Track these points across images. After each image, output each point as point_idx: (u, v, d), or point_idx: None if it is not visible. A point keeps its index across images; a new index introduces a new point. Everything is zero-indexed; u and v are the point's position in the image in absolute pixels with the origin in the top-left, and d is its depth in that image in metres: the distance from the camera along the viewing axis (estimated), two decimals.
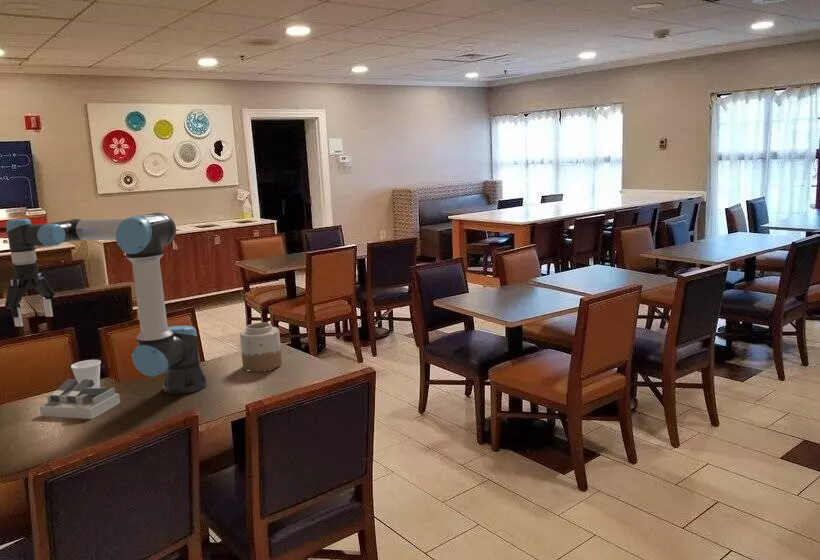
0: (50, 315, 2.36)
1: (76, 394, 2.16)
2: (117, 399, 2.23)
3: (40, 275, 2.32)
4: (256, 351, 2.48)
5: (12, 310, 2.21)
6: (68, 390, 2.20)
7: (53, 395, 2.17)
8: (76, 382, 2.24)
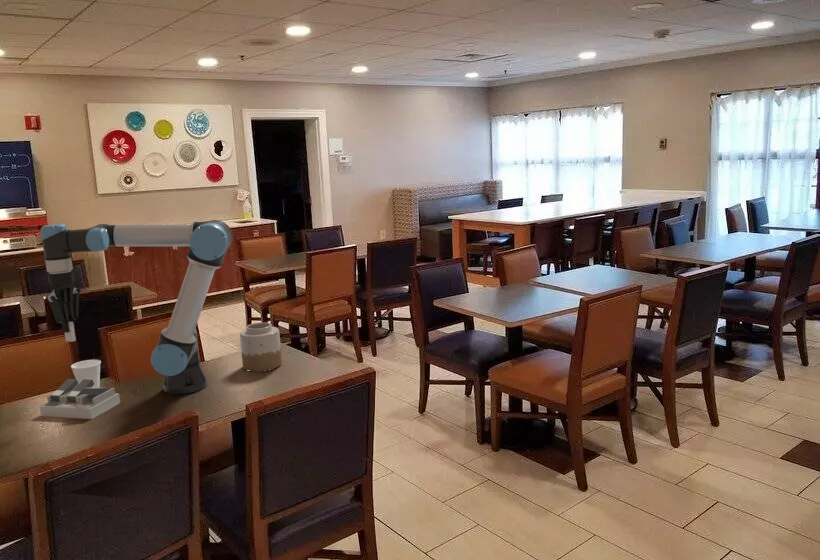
0: None
1: (76, 394, 2.16)
2: (117, 399, 2.23)
3: (75, 289, 2.17)
4: (256, 351, 2.48)
5: (63, 324, 2.12)
6: (68, 390, 2.20)
7: (53, 395, 2.17)
8: (76, 382, 2.24)
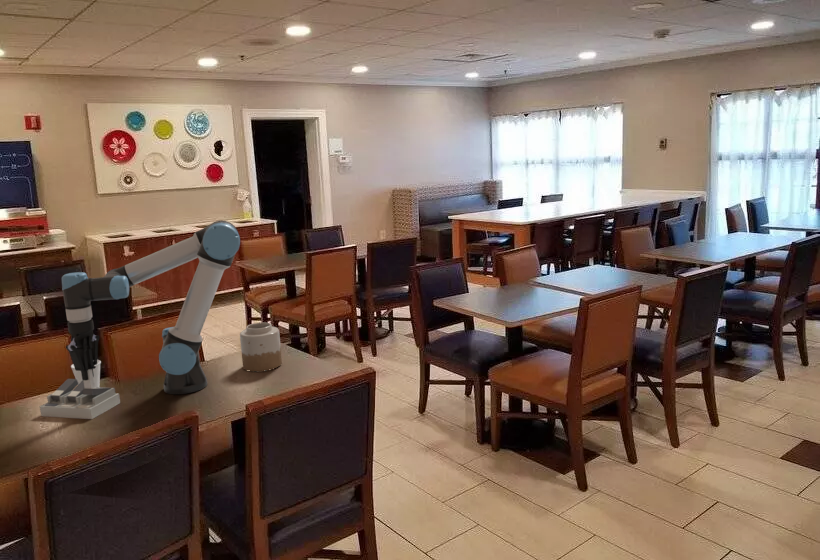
0: None
1: (76, 394, 2.16)
2: (117, 399, 2.23)
3: (94, 336, 2.16)
4: (256, 351, 2.48)
5: (82, 372, 2.12)
6: (68, 390, 2.20)
7: (53, 395, 2.17)
8: (76, 382, 2.24)
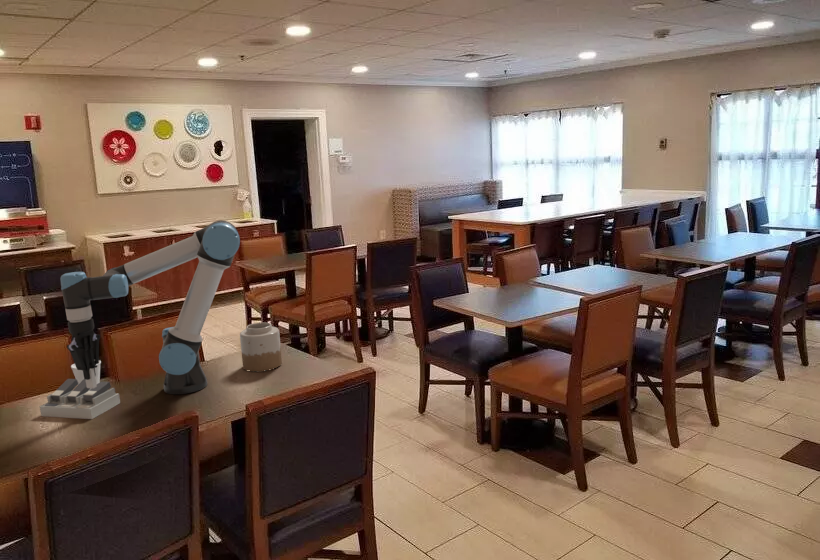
0: None
1: (76, 394, 2.16)
2: (117, 399, 2.23)
3: (95, 335, 2.16)
4: (256, 351, 2.48)
5: (84, 372, 2.12)
6: (68, 390, 2.20)
7: (53, 395, 2.17)
8: (76, 382, 2.24)
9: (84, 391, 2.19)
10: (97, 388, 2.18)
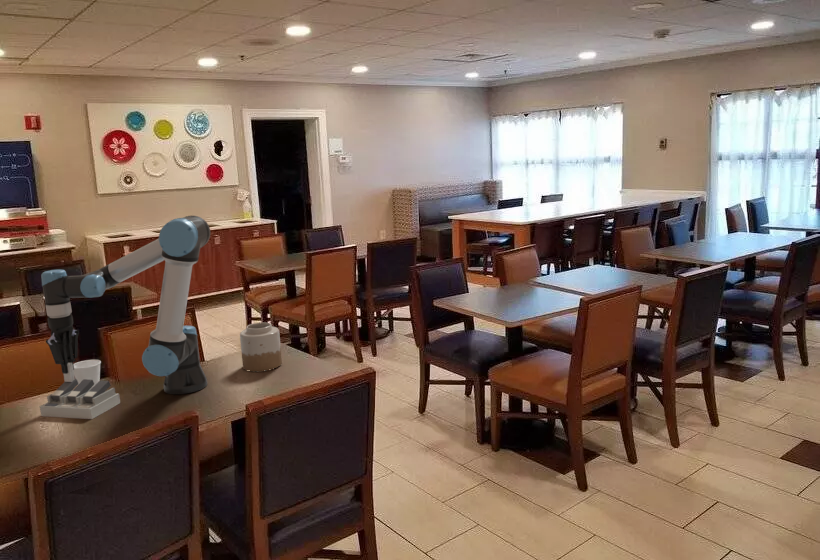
0: None
1: (76, 394, 2.16)
2: (117, 399, 2.23)
3: (74, 331, 2.25)
4: (256, 351, 2.48)
5: (62, 366, 2.20)
6: (68, 390, 2.20)
7: (53, 395, 2.17)
8: (76, 382, 2.24)
9: (84, 391, 2.19)
10: (97, 388, 2.18)
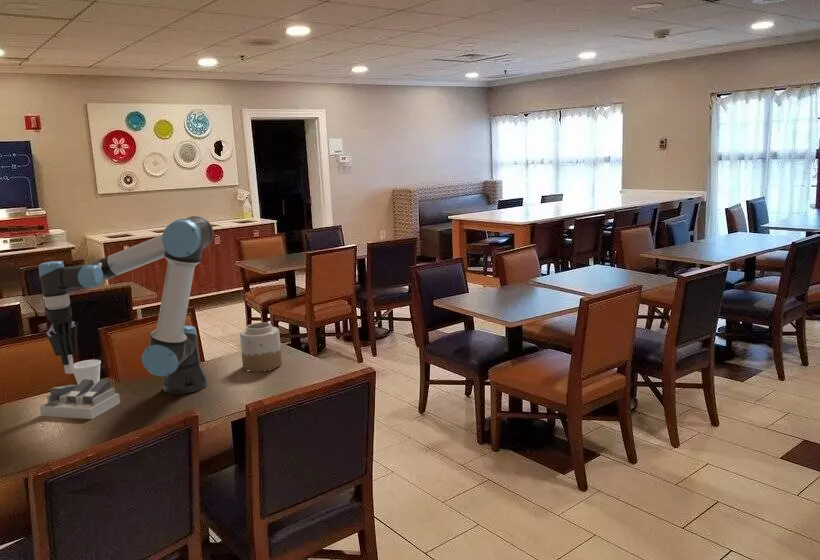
0: None
1: (76, 394, 2.16)
2: (117, 399, 2.23)
3: (73, 323, 2.24)
4: (256, 351, 2.48)
5: (62, 358, 2.20)
6: (68, 389, 2.20)
7: (53, 388, 2.17)
8: None
9: (84, 391, 2.19)
10: (97, 388, 2.18)
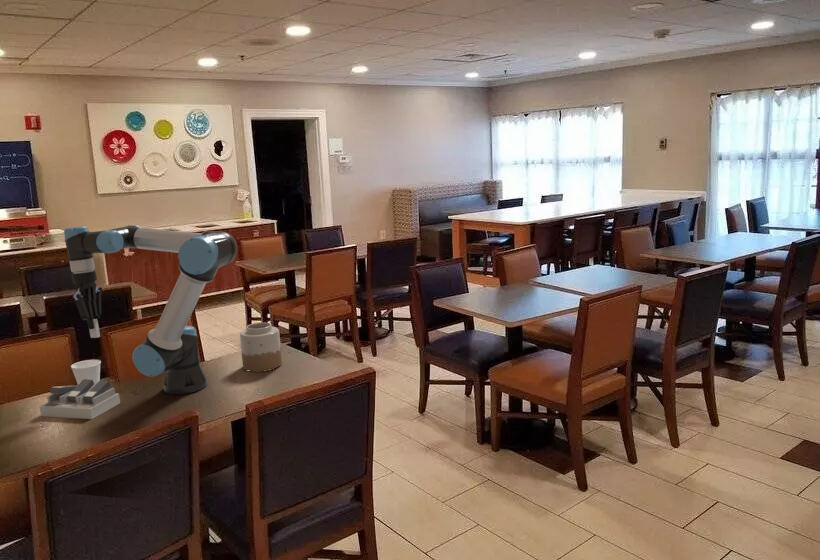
0: None
1: (76, 394, 2.16)
2: (117, 399, 2.23)
3: (97, 288, 2.28)
4: (256, 351, 2.48)
5: (88, 322, 2.23)
6: (68, 389, 2.20)
7: (53, 387, 2.17)
8: None
9: (84, 391, 2.19)
10: (97, 388, 2.18)
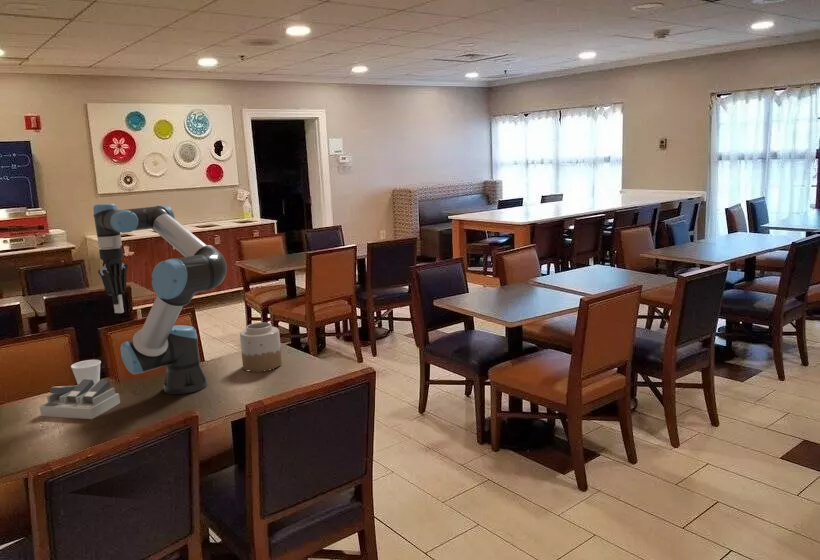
0: None
1: (76, 394, 2.16)
2: (117, 399, 2.23)
3: (123, 265, 2.33)
4: (256, 351, 2.48)
5: (113, 297, 2.28)
6: (68, 389, 2.20)
7: (53, 387, 2.17)
8: None
9: (84, 391, 2.19)
10: (97, 388, 2.18)
